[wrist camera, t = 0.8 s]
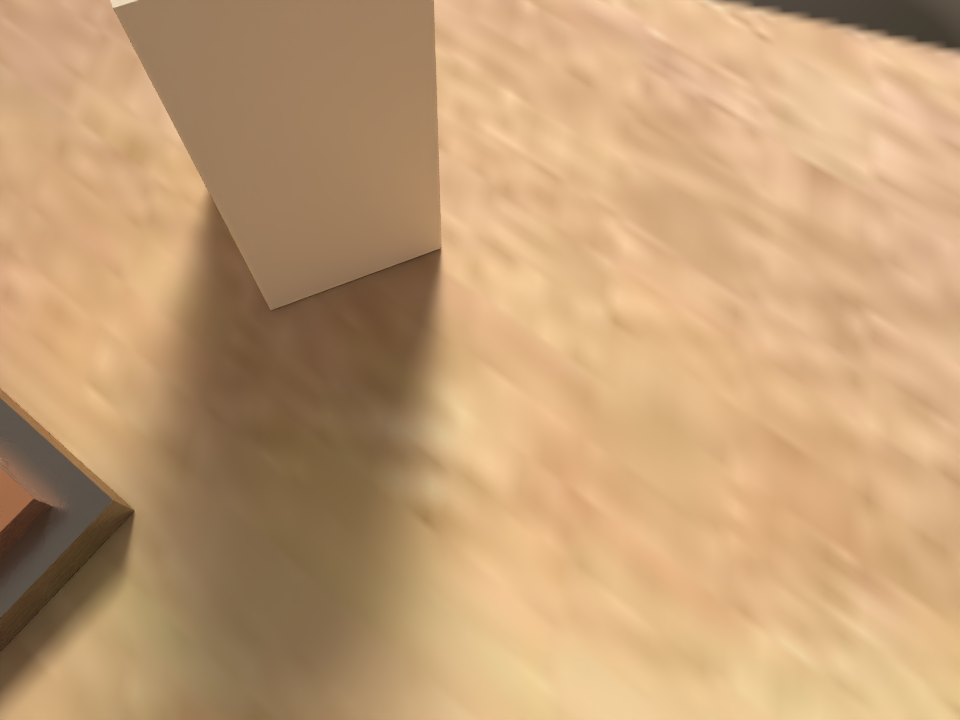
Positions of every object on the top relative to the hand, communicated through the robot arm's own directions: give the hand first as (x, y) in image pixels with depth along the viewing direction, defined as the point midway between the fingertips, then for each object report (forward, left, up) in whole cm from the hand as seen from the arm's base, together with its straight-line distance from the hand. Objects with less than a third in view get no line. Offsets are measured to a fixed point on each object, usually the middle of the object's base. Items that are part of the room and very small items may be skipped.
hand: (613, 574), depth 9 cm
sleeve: (+12, +2, -14) cm, 19 cm away
